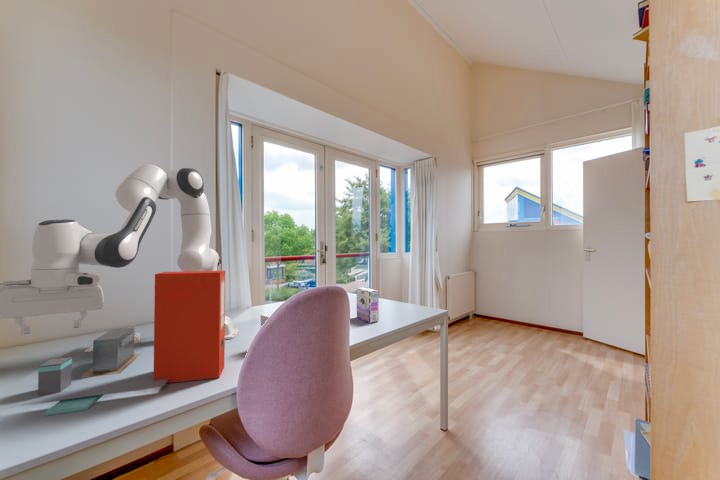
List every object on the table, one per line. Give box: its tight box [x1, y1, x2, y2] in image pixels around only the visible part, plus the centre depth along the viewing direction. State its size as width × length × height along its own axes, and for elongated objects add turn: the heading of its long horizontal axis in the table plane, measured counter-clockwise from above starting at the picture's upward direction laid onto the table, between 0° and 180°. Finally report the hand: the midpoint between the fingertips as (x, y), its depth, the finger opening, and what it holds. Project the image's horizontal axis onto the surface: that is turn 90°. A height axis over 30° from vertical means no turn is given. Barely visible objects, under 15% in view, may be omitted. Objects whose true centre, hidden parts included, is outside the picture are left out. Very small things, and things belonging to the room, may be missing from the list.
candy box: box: [356, 286, 379, 324], centre depth 153 cm, size 14×6×16 cm, turn 30°
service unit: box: [92, 326, 135, 374], centre depth 92 cm, size 7×12×10 cm, turn 19°
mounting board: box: [78, 353, 142, 379], centre depth 92 cm, size 10×16×2 cm, turn 19°
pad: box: [44, 393, 104, 416], centre depth 73 cm, size 8×8×1 cm
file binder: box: [153, 270, 226, 384], centre depth 88 cm, size 8×17×32 cm, turn 105°
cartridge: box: [37, 356, 73, 396], centre depth 77 cm, size 5×5×9 cm
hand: (52, 330), depth 77 cm, fingers open, 8 cm apart
